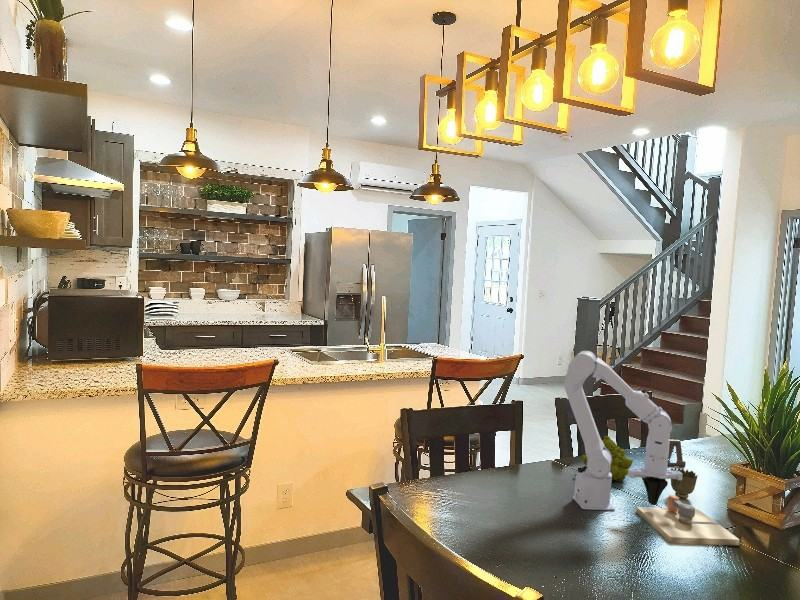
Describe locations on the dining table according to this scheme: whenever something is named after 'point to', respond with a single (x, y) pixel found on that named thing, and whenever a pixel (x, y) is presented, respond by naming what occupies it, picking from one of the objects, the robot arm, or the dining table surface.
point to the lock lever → (680, 507)
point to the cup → (684, 483)
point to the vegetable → (613, 460)
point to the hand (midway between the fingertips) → (652, 503)
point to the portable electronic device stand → (678, 453)
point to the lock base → (687, 527)
